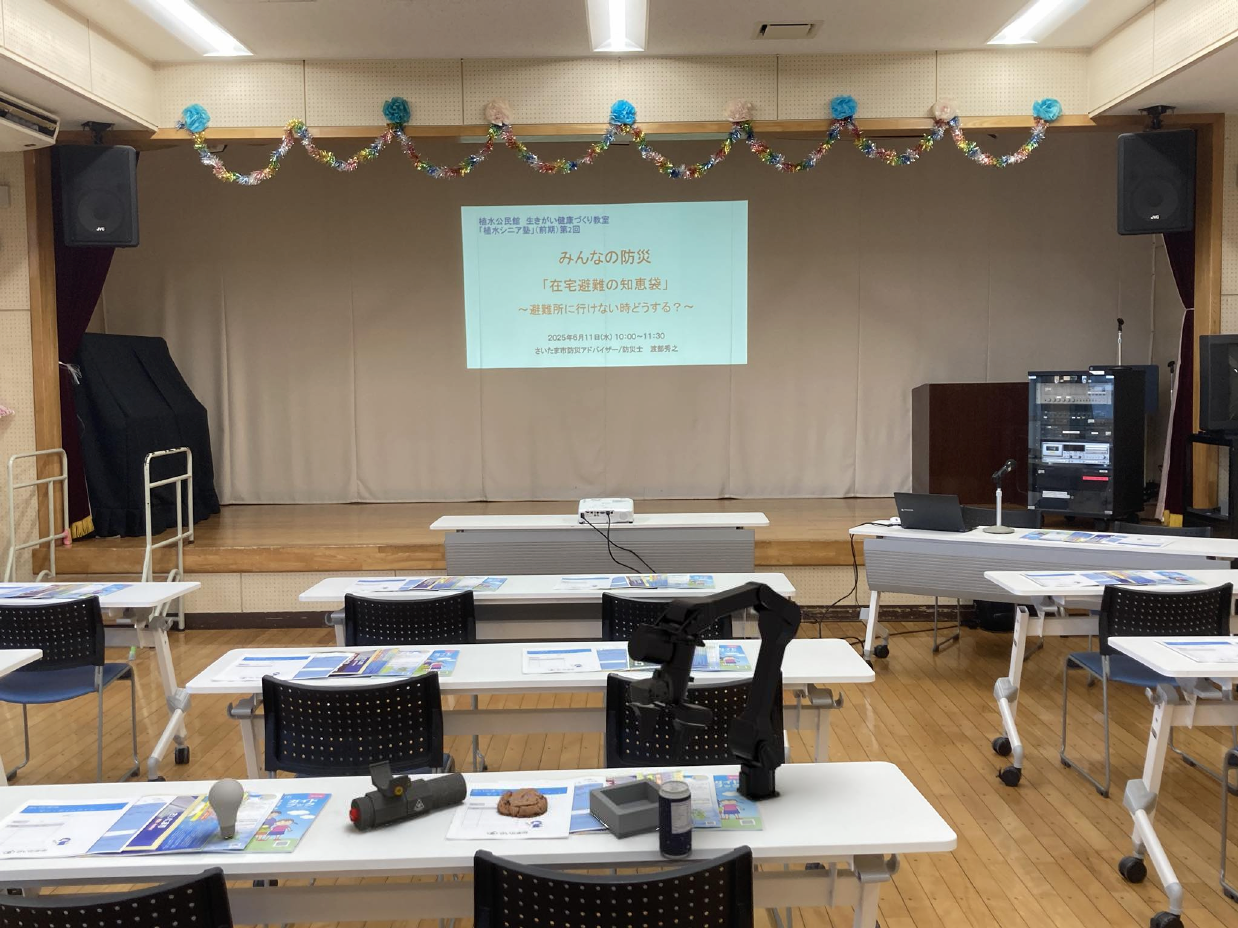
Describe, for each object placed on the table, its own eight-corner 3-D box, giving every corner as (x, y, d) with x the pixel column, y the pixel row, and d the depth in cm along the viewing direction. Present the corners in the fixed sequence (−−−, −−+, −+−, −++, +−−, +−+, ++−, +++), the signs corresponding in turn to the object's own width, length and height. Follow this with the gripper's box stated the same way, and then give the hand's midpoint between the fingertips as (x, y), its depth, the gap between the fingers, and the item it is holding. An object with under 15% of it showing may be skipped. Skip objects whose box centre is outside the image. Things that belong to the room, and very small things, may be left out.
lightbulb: (211, 847, 174) (208, 788, 173) (208, 834, 180) (206, 776, 179) (247, 840, 177) (245, 781, 176) (243, 827, 182) (241, 770, 182)
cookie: (529, 824, 182) (529, 808, 182) (486, 812, 188) (485, 797, 187) (560, 805, 191) (559, 790, 190) (517, 794, 196) (516, 780, 196)
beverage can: (692, 846, 171) (691, 779, 170) (691, 861, 165) (690, 792, 164) (660, 845, 171) (659, 779, 171) (658, 860, 166) (657, 791, 165)
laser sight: (472, 808, 189) (470, 758, 189) (361, 841, 176) (359, 787, 175) (449, 793, 197) (448, 745, 197) (342, 823, 184) (340, 771, 183)
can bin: (650, 799, 191) (649, 777, 191) (681, 824, 180) (681, 800, 179) (589, 812, 186) (589, 789, 186) (618, 839, 174) (618, 814, 174)
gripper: (612, 652, 182) (594, 735, 180) (676, 672, 167) (657, 763, 165) (656, 659, 189) (640, 739, 187) (722, 679, 174) (704, 767, 172)
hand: (658, 751), depth 177 cm, fingers open, 9 cm apart
